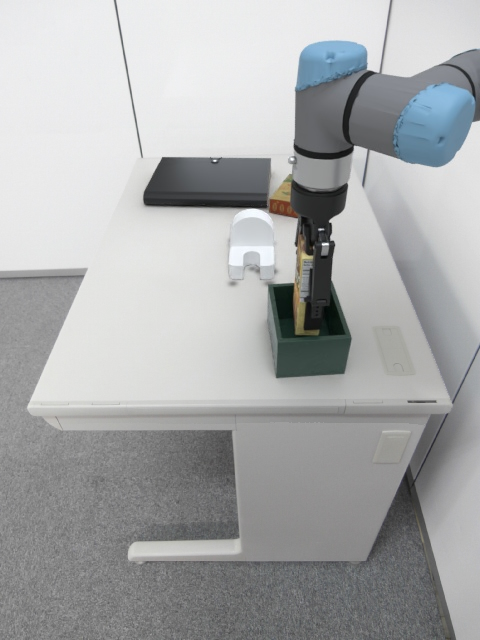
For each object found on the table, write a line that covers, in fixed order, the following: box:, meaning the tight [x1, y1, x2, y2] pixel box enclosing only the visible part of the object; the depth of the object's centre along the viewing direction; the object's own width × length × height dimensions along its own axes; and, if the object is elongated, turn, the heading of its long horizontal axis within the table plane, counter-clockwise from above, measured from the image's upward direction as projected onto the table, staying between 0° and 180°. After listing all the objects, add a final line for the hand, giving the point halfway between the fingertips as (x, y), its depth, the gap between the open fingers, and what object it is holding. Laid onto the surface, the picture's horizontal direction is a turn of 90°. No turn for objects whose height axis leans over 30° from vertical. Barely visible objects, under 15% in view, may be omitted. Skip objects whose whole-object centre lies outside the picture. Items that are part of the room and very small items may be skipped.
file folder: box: [142, 156, 272, 208], centre depth 124 cm, size 33×4×24 cm
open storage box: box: [266, 280, 353, 379], centre depth 76 cm, size 15×12×9 cm
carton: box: [268, 173, 299, 218], centre depth 117 cm, size 8×16×4 cm, turn 157°
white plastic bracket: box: [228, 208, 275, 280], centre depth 97 cm, size 10×18×11 cm, turn 178°
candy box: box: [293, 233, 319, 336], centre depth 70 cm, size 9×4×15 cm, turn 178°
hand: (307, 307), depth 73 cm, fingers closed on candy box, 9 cm apart
